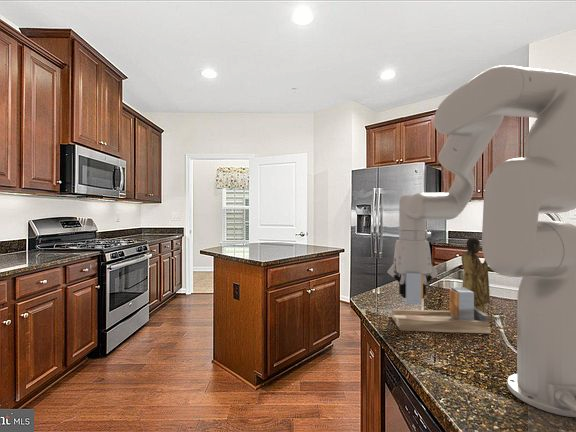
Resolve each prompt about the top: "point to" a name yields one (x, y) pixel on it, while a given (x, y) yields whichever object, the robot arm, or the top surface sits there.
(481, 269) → the statue
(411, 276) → the grey upright block
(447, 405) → the top surface
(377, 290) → the top surface
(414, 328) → the jaw rail
